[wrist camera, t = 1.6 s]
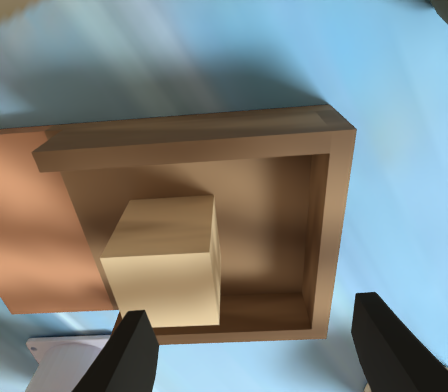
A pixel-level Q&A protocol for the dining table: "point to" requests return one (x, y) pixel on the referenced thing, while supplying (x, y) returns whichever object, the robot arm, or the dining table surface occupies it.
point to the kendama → (441, 8)
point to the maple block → (167, 261)
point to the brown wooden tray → (182, 187)
